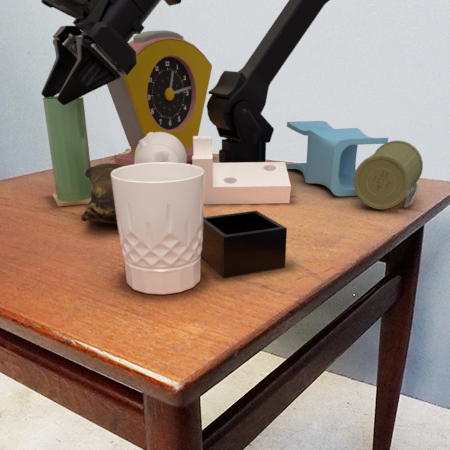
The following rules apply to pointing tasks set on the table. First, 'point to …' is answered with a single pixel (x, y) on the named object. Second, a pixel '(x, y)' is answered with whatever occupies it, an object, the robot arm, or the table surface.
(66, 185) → the green cylinder
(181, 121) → the yellow mantel clock
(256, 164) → the bracket
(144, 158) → the cat figurine
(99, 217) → the seashell
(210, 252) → the black open box
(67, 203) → the coaster
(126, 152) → the soap
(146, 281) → the white cup
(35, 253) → the table surface
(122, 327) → the table surface
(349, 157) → the blue step stool
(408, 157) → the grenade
